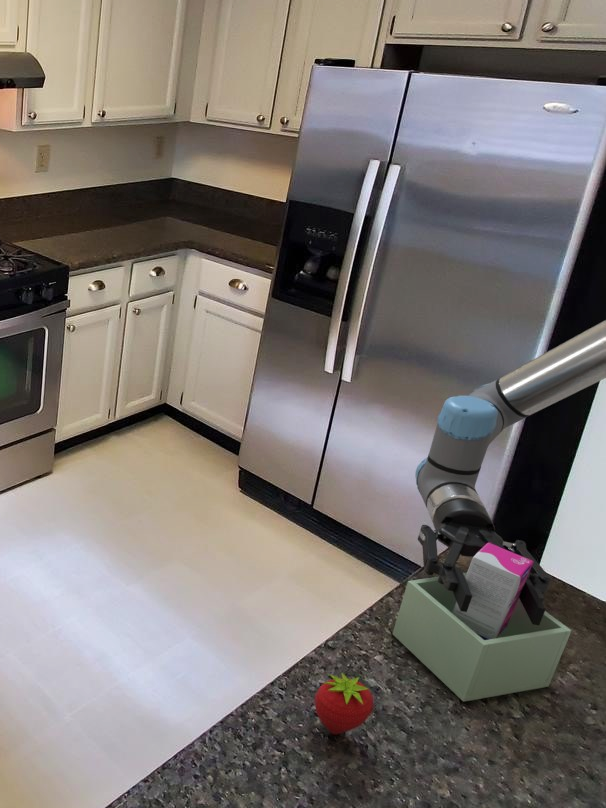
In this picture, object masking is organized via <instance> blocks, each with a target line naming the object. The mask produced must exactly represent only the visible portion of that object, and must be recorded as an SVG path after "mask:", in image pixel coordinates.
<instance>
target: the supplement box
mask: <svg viewBox="0 0 606 808" xmlns="http://www.w3.org/2000/svg"><path fill="white" fill-rule="evenodd" d="M471 558H472V559H471V561H470V564H469V566H468V569H467V572H466V573H467V575H466V577H465V579H466V582H467V584H468V587H469V589H470V591H471V594H472V599H471V601H470V604H469V607H468V610H467V612H463V611H460V609H459V606H458V604H457V602H456V604H455V607H454V610H453V612H452V614H454V615H455V616H456V617H457V618H458V619H459V620H461V621H462V622H463V623H464V624H465V625H467V626H468V627H469V628H470V629H471V630H473V631H474V632H475V633H476V634H477V635H479V636H480V637H481V638H482V639H483V640H484V641H485V640H489V639H495V638H497V637H498V636H499V635H500V633H501V632H502V631H503V630H504V629H505V628H506V627H507V625H508V623H509V620H510V618H511V616H512V613H513V611H514V608H515V606H516V603H517V601H518V599H519V596H520V594H521V591H522V589H523V586H524V584H525V582H526V579H527V577H528V574H529V572H530V569H531V567H532V565H533V561H532V560H530V559H527V558H525V557H522V556H520V555H517V554H515V553H512V552H510V551H508V550H505V549H503V548H501V547H498V546H496V545H494V544H491V543H487V544H486V545H485V546H484V547H483V548H482V549H481V550H480V551H479V552H478V553H477V554H476V555H475V556H474V557H471Z"/></svg>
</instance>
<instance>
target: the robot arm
mask: <svg viewBox="0 0 606 808" xmlns="http://www.w3.org/2000/svg"><path fill="white" fill-rule="evenodd" d="M604 379H606V319H605V320H603V321H601V322H599V323H598V324H596V325H594V326H592V327H591V328H588V329H586V330H585V331H583V332H581V333H580V334H577V335H575V336H574V337H572V338H570V339H568V340H566V341H565V342H563V343H560V344H559V345H558V346H556V347H553V348H552V349H550V350H548V351H546V352H544V353H543V354H541V355H539V356H537V357H535V358H534V359H532V360H530V361H528V362H527V363H524V364H522V365H521V366H519V367H516V368H515V369H513V370H511V371H510V372H508V373H506V374H505V375H503V376H501V377H500V378H497V379H495V380H493V381H492V382H490V383H486V384H483V385H480V386H478V387H476V388H475V389H473V390H472V391H470V392H469V393H468V394H467V395H457V396H451V397H448V398H447V399H446V400H445V401H444V403H443V405H442V408H441V411H440V413H439V414H438V416H437V422H436V427H435V431H434V434H433V438H432V442H431V444H430V448H429V451H428V455H427V457H425V458H424V459H423V460H422V461H421V462H420V463H419V464H418V465H417V467H416V468H415V484H416V488H417V490H418V492H419V494H420V496H421V498H422V501H423V503H424V505H425V507H426V510H427V513H428V514H429V517H430V519H431V522H432V524H433V528H434V529H432V528H431V526H429V525H427V524H422V525H421V527H420V530H419V533H418V536H417V541H418V542H419V544H420V545H421V546H422V560H423V562H422V563H423V572H424V574H426V575H429V576H433V575H434V574H435V575H438V577H439V578H438V582H439V583H441V584H444V585H445V588H446V589H447V590H449V591H453V593H454V596H455V598H456V601H457V604H458V606H459V609H460V611H463V612H467V610H468V607H469V604H470V601H471V599H472V594H471V591H470V589H469V587H468V584H467V582H466V579H465V577H464V575H463V573H464V572H463V570H462V568H461V567H460V566H456V565H457V562H458V561H459V559H460V557H461V556H462V557H465V558H467V557H468V558H473V557H474V556H475V555H476V554H477V553H478V552H479V551H480V550H481V549H482V548H483V547H484V546H485V545H486V544H487V543H491V544H494V545H496V546H498V547H501V548H503V549H505V550H508V551H510V552H512V553H515V554H517V555H520V556H522V557H525V558H527V559H530V560H532V561H533V565H532V567H531V569H530V572H529V574H528V577H527V579H526V582H525V584H524V586H523V589H522V591H521V594H520V596H519V599H520V601H521V603H522V605H523V607H524V609H525V611H526V612H527V614H528V616H529V618H530V620H531V622H532V624H534V625H540V622H541V620H542V617H543V615H544V612H545V611H546V607H545V605H544V600H545V595H547V592H548V589H549V587H550V585H551V582H552V578H551V577H550V576H549V574H548V573H547V572H546V570H545V569H544V568H543V567H542V566H541V564H539V562H538V561H537V560H536V559H535V557H534V556H533V555H532V554H531V553H530V552H529V550H528V549H527V543H526V542H525V541H523V540H521V539H516V540H515V542H508V541H504V539H503V538H502V536H500V535H499V534H497V533H496V528H495V525H494V522H493V520H492V517H491V516H490V514H489V512H488V511H487V507H486V506H485V505H484V502H483V501H482V499H481V497H480V495H479V493H478V491H477V490H476V484H477V480H478V478H479V474H480V471H481V469H482V465H483V462H484V460H485V457H486V453H487V451H488V448H489V446H490V445H491V443H492V442H493V441H494V440H495V439H496V438H498V436H499V435H500V434H501V433H502V432H503V431H504V430H505V429H506V428H508V427H510V426H512V425H515V424H517V423H519V422H520V421H522V420H524V419H526V418H528V417H530V416H531V415H533V414H535V413H537V412H539V411H542V410H543V409H545V408H547V407H549V406H551V405H553V404H556V403H558V402H559V401H562V400H563V399H566V398H568V397H570V396H572V395H574V394H576V393H578V392H580V391H582V390H584V389H587V388H588V387H590V386H592V385H594V384H596V383H599V382H601V381H602V380H604ZM437 542H439V543H441V544H442V545H444V546H445V547H447V548H449V550H448V552H447V554H446V557H445V559H444V560H443V562H442V561H440V560H439V556H438V543H437Z"/></svg>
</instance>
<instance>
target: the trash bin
mask: <svg viewBox="0 0 606 808" xmlns="http://www.w3.org/2000/svg"><path fill="white" fill-rule="evenodd" d="M463 575H464V577H466V575H467V572H463ZM438 578H439V576H433V577H426V578H419V579H413V580H408V581H407V584H406V586H405V590H404V593H403V597H402V601H401V604H400V606H399V611H398V613H397V616H396V620H395V624H394V627H393V631H392V636H394V637H395V638H396V640H398V641H399V642H400V643H401V644H402V645H403V646H404V648H406V649H407V650H409V651H410V652H411V654H413V655H414V656H415V658H417V659H418V660H419V661H420V662H421V663H422V664H423V665H424V666H425V667H426V668H427V669H429V671H430V672H431V673H432V674H433V675H435V676H436V677H437V678H438V679H439V680H440V681H441V682H442V683H444V685H445V686H446V687H447V688H449V690H450V691H451V692H452V693H453V694H454V695H456V696H457V698H459V699H460V700H461V701H462V702H463V703H464V702H465V703H466V702H469V701H475V700H481V699H487V698H492V697H493V698H494V697H499V696H503V695H509V694H514V693H515V694H516V693H520V692H525V691H532V690H537V689H543V688H548V687H550V684H551V682H552V679H553V677H554V675H555V672H556V669H557V667H558V665H559V662H560V660H561V658H562V655H563V653H564V650H565V648H566V647H567V643H568V641H569V638H570V636H571V634H572V629H570V628H569V627H568V626H567V625H565V624H564V623H562V622H561V621H560V620H558V619H557V618H555V617H554V615H551V614H550V613H549V612H547V611H546V610H545V612H544V615H543V617H542V620H541V622H540V625H534V624H532V622H531V620H530V618H529V616H528V614H527V612H526V611H525V609H524V607H523V605H522V603H521V601H520V599H518V601H517V603H516V606H515V608H514V611H513V613H512V616H511V618H510V620H509V623H508V625H507V627H506V628H505V629H504V630H503V631H502V632H501V633H500V635H499V636H498V637H497V638H495V639H489V640H485V641H484V640H483V639H482V638H481V637H480V636H479V635H477V634H476V633H475V632H474V631H473V630H471V629H470V628H469V627H468V626H467V625H465V624H464V623H463V622H462V621H461V620H459V619H458V618H457V617H456V616H455V615H454V614H452V612H453V610H454V607H455V604H456V602H457V601H456V598H455V596H454V593H453V591H449V590H447V589H446V588H445V585H444V584H441V583H439V582H438Z"/></svg>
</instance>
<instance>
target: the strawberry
mask: <svg viewBox="0 0 606 808" xmlns="http://www.w3.org/2000/svg"><path fill="white" fill-rule="evenodd" d="M329 676H330V678H332V679H329V680H327V681H324V682H323V683H322V684H321V685H320V687H319V688H318V690H317V691H316V693H315V695H314V705H315V707H314V708H315V713H316V715H317V717H318V719H319V720H320V722H321V724H322V725H323V726H324V727H325V728H326V730H327V732H329V733H330V734H331V735H340V734H341V733H346V732H349V731H352V730H354V729H356V728H358V727H359V726H361V725H363V723H365V722H366V721H367V719H368V718H369V717H370V716H371V714H372V712H373V710H374V696H373V694H372V692H371V690H370V688H369V687H367V686H365V685H364V684H363V683H361V682H359V679H360V676H358V677H355V678H348V677H347V676H346V675H345V674H344V673H343V672H341V677H338V676H336V675H334V674H331V673H329Z"/></svg>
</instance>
